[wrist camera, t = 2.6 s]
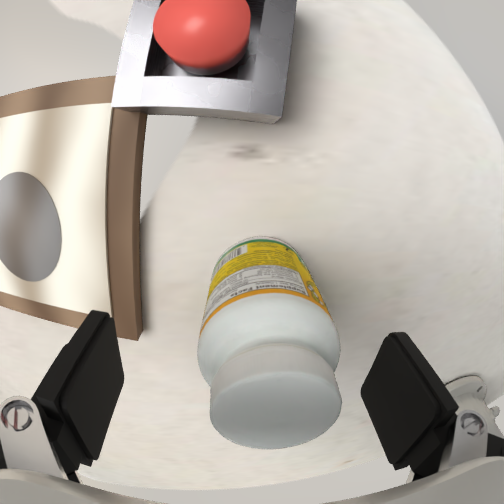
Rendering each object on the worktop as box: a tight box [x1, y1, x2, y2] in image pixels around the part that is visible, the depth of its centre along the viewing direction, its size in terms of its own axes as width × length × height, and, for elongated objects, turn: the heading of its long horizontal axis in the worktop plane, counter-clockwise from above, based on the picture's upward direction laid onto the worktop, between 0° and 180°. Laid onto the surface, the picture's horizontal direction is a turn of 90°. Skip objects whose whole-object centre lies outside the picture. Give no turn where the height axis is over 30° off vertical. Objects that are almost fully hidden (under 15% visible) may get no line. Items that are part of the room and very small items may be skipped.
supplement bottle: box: [197, 237, 342, 449], centre depth 12 cm, size 5×5×10 cm
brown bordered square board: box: [0, 76, 147, 341], centre depth 14 cm, size 14×15×2 cm
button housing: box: [111, 0, 297, 124], centre depth 11 cm, size 7×7×4 cm
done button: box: [153, 0, 251, 75], centre depth 9 cm, size 4×4×2 cm
